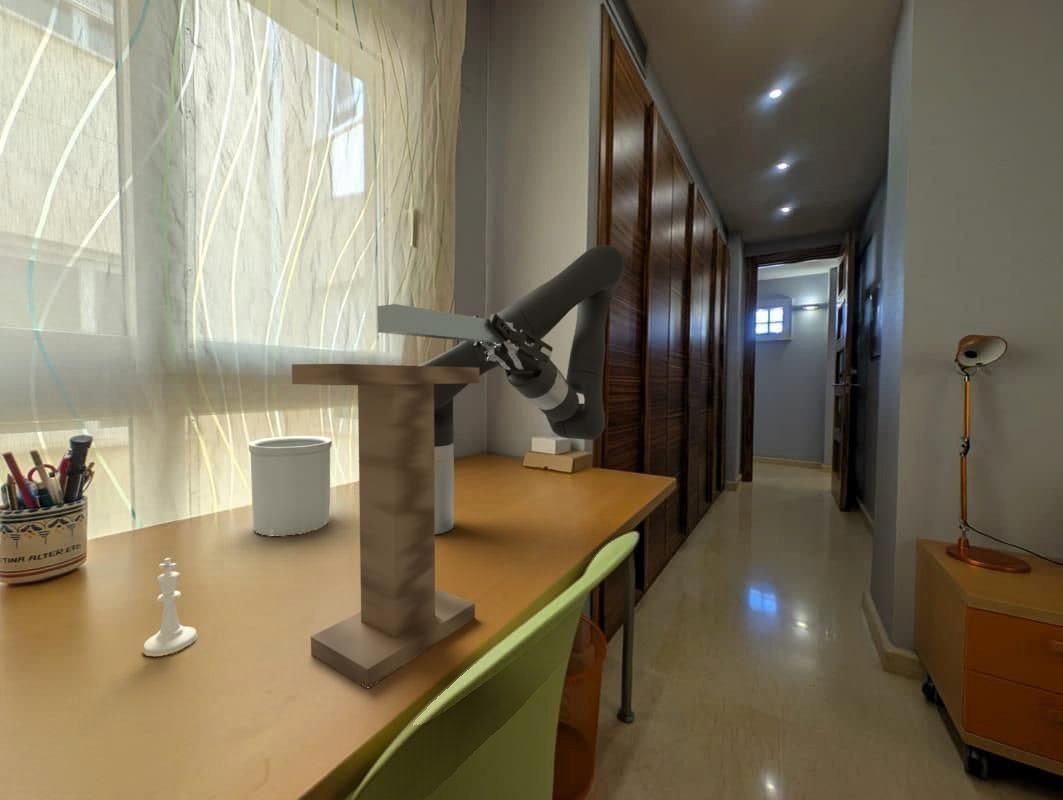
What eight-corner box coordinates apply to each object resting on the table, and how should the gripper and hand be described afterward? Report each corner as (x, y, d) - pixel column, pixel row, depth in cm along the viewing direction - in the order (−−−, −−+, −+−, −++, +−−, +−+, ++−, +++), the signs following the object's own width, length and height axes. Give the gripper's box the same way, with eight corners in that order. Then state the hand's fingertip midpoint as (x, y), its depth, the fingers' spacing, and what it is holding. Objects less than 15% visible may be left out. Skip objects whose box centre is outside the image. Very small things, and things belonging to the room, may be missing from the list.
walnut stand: (431, 591, 66) (429, 367, 64) (484, 611, 60) (485, 367, 58) (293, 663, 49) (286, 364, 47) (349, 701, 43) (344, 363, 42)
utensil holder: (347, 522, 96) (346, 439, 95) (276, 544, 83) (274, 448, 82) (307, 510, 104) (305, 434, 103) (236, 529, 91) (233, 441, 90)
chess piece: (163, 632, 55) (160, 550, 54) (206, 631, 55) (204, 549, 54) (130, 658, 50) (127, 568, 49) (179, 656, 50) (175, 567, 49)
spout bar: (497, 343, 71) (497, 324, 70) (512, 343, 69) (512, 323, 69) (377, 332, 52) (377, 306, 52) (394, 331, 51) (394, 304, 50)
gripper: (512, 361, 83) (454, 302, 70) (580, 360, 75) (529, 294, 62) (499, 397, 80) (436, 343, 67) (568, 401, 72) (513, 340, 60)
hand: (481, 320), depth 65 cm, fingers closed on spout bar, 3 cm apart
